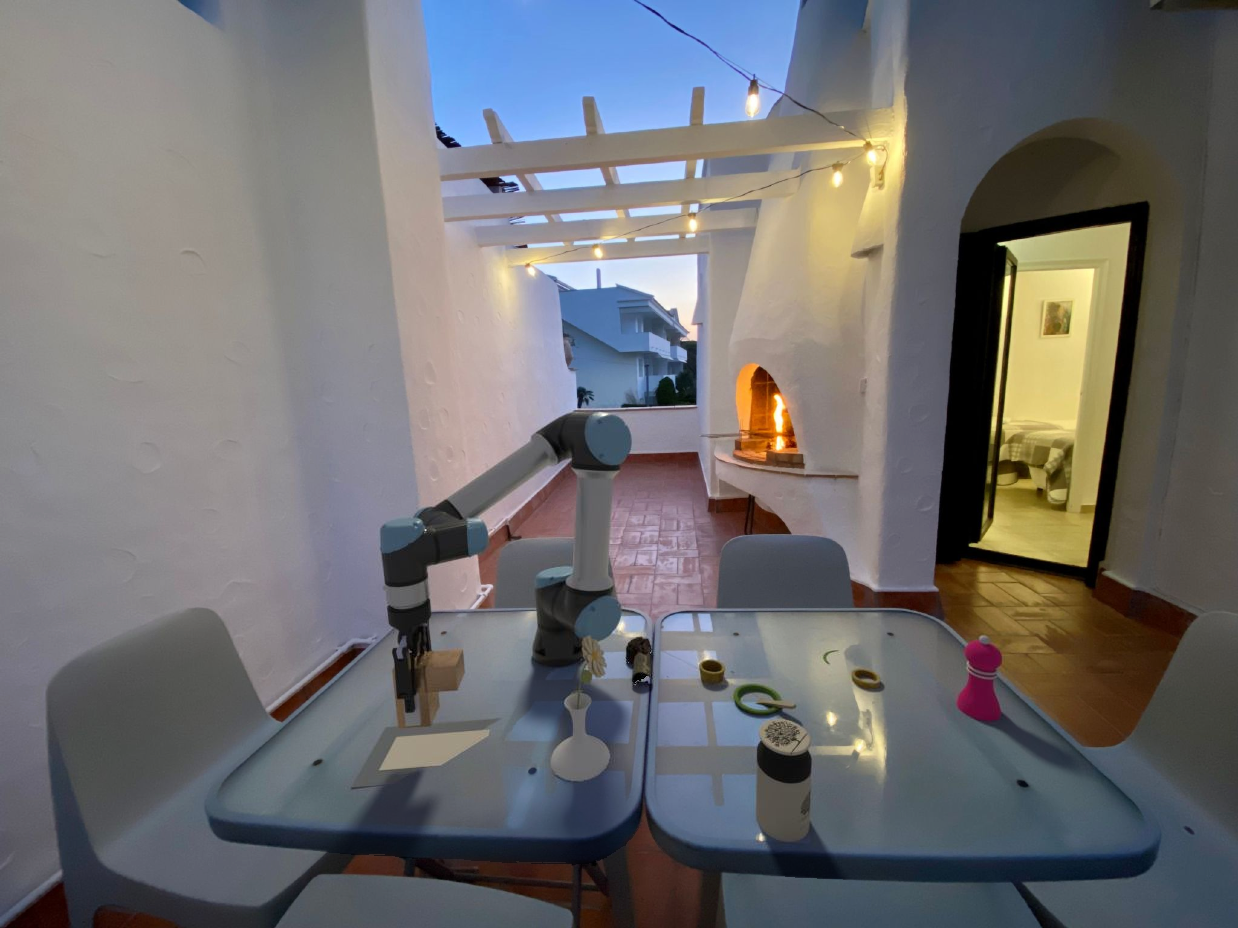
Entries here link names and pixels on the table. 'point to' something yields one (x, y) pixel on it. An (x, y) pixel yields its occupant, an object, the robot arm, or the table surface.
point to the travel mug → (783, 780)
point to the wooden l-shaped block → (433, 682)
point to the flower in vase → (582, 726)
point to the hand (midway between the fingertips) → (419, 712)
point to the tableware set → (715, 672)
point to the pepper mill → (981, 681)
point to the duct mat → (418, 749)
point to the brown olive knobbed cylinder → (639, 658)
